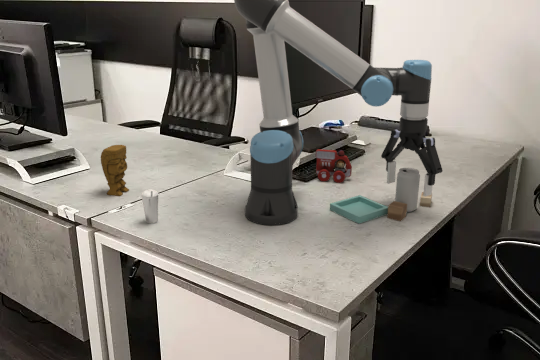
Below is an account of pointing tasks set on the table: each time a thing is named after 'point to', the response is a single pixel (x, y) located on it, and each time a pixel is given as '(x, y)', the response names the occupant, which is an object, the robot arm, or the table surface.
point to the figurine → (115, 168)
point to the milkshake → (150, 205)
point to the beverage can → (408, 187)
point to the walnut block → (397, 211)
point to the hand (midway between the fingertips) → (408, 188)
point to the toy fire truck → (332, 165)
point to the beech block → (425, 200)
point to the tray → (359, 209)
